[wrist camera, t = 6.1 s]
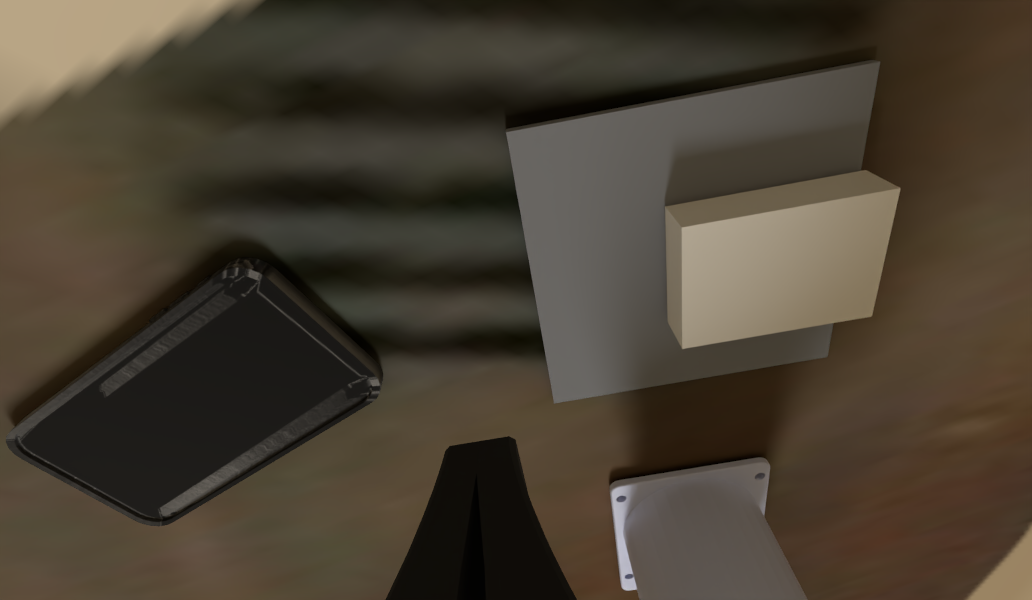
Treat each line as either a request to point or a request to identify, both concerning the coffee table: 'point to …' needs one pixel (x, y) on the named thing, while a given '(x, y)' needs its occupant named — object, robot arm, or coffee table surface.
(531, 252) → the mat
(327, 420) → the phone
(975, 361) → the coffee table surface
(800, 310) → the tile
